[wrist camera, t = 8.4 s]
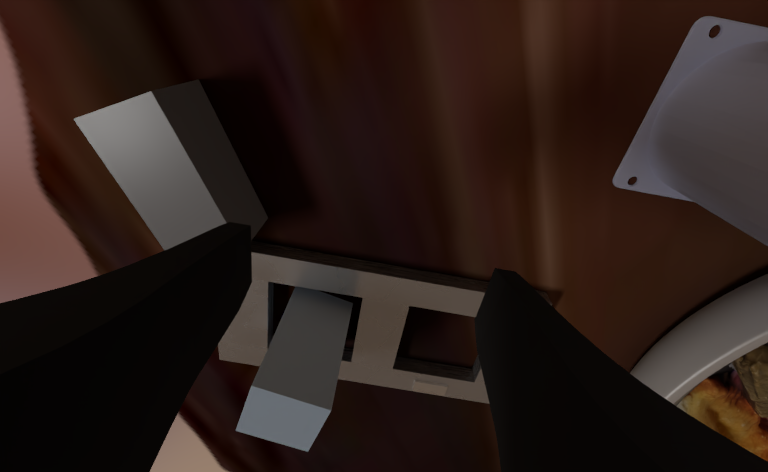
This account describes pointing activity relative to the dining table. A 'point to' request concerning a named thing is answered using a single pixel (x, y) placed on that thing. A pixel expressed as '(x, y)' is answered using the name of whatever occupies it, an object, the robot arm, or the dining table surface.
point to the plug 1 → (174, 163)
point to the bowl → (718, 366)
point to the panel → (361, 317)
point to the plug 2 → (298, 371)
